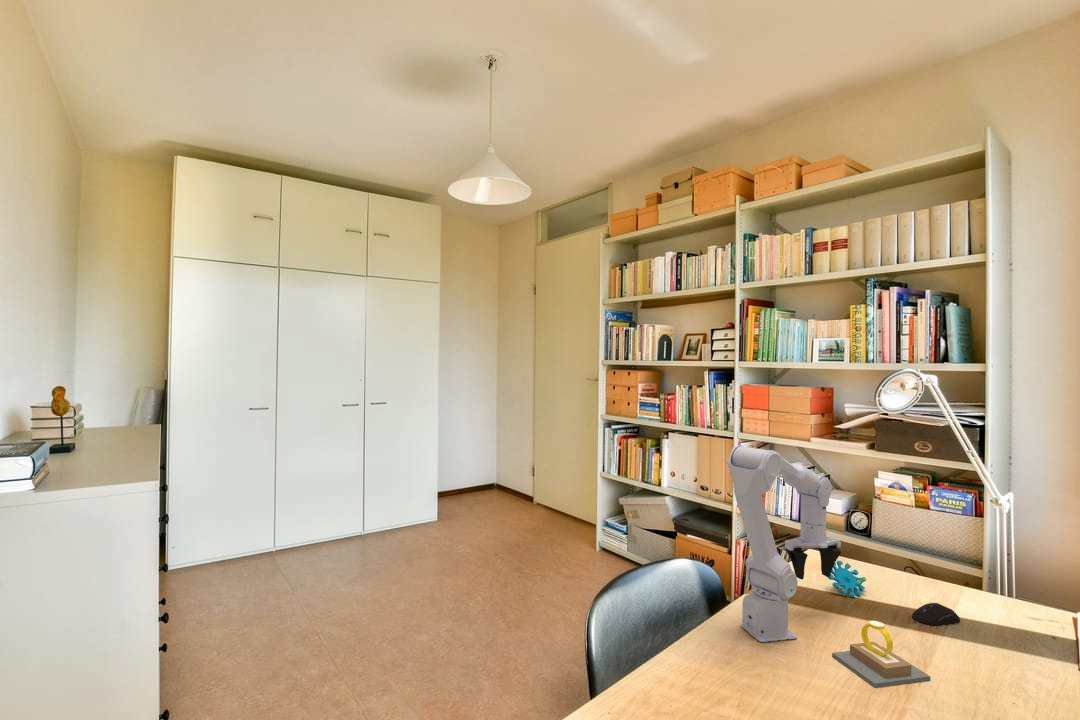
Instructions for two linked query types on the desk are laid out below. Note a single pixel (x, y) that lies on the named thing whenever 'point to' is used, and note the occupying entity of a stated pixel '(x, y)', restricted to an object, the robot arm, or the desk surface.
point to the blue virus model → (847, 579)
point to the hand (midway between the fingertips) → (812, 576)
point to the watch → (881, 627)
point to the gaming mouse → (935, 615)
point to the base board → (876, 676)
